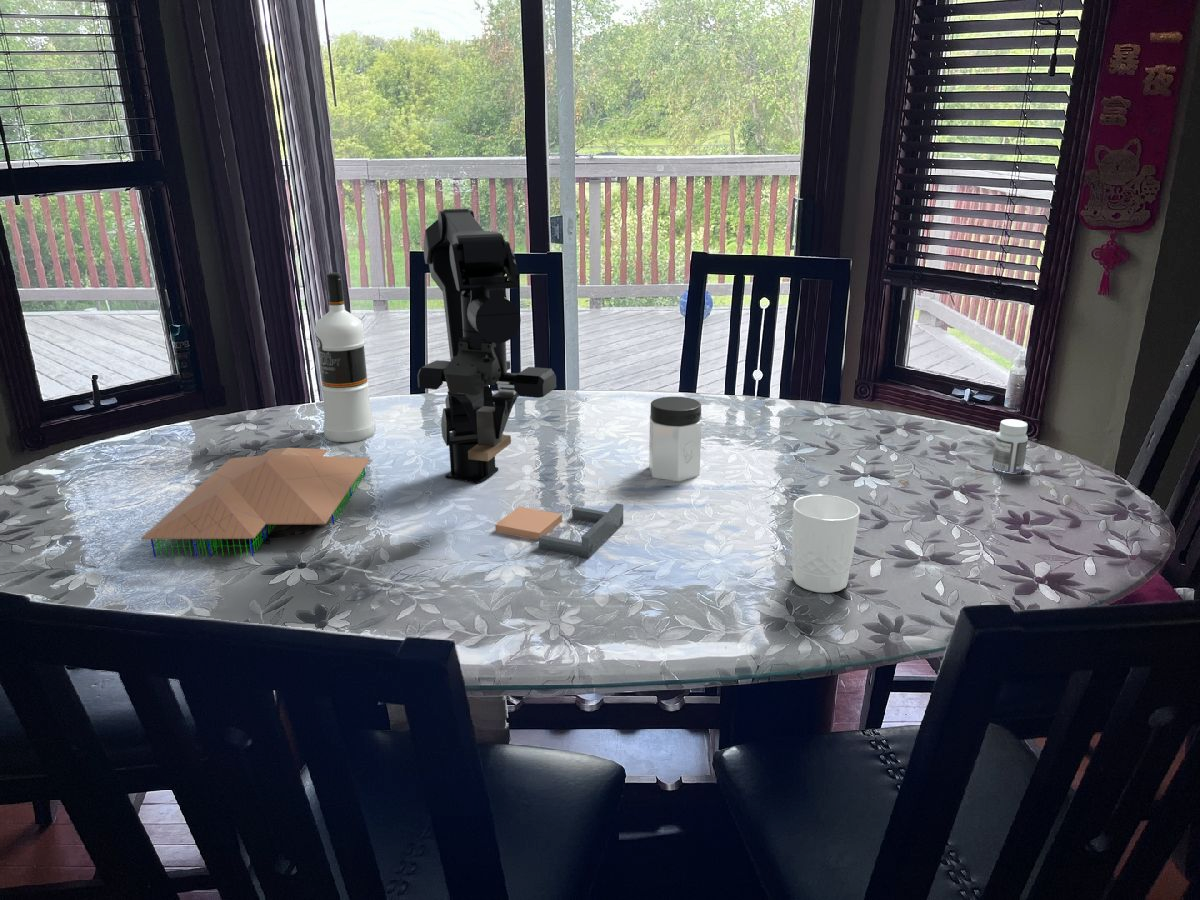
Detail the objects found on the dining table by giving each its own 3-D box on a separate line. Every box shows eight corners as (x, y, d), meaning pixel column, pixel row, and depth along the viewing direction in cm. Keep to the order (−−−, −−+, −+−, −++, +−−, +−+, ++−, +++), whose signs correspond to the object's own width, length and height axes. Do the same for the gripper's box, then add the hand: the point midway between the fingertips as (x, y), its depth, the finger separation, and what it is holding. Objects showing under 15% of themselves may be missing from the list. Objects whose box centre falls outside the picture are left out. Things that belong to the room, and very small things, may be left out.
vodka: (380, 440, 162) (364, 274, 152) (327, 447, 159) (308, 278, 148) (371, 426, 170) (356, 267, 160) (321, 432, 167) (302, 270, 156)
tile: (495, 534, 125) (495, 524, 125) (519, 516, 131) (519, 506, 131) (539, 543, 123) (539, 533, 122) (562, 524, 129) (562, 514, 128)
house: (376, 470, 149) (371, 424, 146) (318, 560, 118) (311, 503, 115) (239, 471, 149) (232, 425, 146) (145, 560, 118) (134, 504, 115)
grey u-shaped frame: (538, 548, 120) (537, 528, 119) (575, 515, 130) (575, 496, 129) (588, 558, 117) (588, 537, 116) (623, 523, 127) (623, 504, 126)
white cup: (780, 567, 115) (785, 495, 111) (840, 564, 115) (846, 493, 112) (798, 597, 107) (804, 521, 104) (862, 594, 108) (870, 518, 104)
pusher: (468, 459, 123) (465, 416, 121) (492, 441, 131) (490, 400, 129) (488, 461, 123) (485, 418, 121) (510, 443, 130) (509, 402, 128)
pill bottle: (1016, 466, 148) (1024, 418, 145) (1026, 477, 144) (1035, 427, 141) (987, 465, 149) (994, 417, 146) (996, 476, 144) (1003, 426, 141)
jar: (667, 486, 141) (669, 414, 137) (637, 470, 147) (638, 401, 143) (710, 474, 145) (713, 404, 141) (680, 460, 152) (681, 393, 148)
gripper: (392, 336, 116) (402, 449, 121) (525, 344, 111) (529, 462, 116) (433, 320, 126) (440, 425, 131) (556, 327, 121) (558, 436, 126)
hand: (489, 437), depth 126 cm, fingers closed on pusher, 2 cm apart
